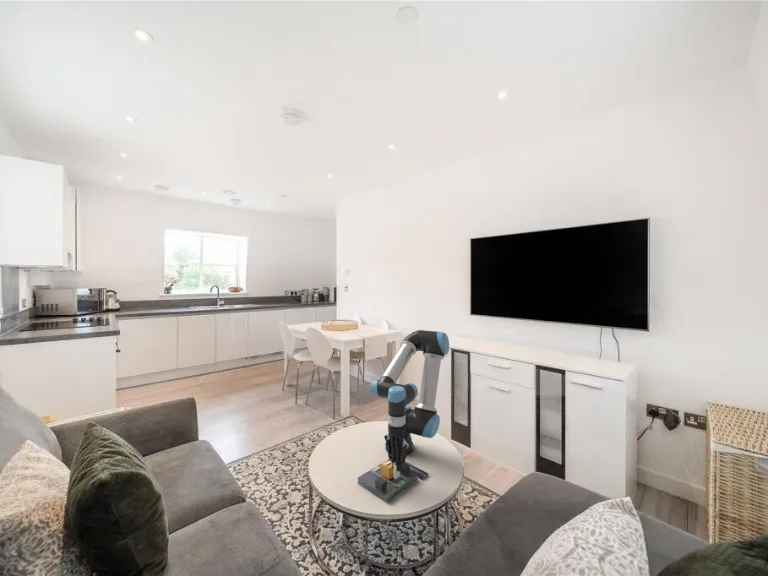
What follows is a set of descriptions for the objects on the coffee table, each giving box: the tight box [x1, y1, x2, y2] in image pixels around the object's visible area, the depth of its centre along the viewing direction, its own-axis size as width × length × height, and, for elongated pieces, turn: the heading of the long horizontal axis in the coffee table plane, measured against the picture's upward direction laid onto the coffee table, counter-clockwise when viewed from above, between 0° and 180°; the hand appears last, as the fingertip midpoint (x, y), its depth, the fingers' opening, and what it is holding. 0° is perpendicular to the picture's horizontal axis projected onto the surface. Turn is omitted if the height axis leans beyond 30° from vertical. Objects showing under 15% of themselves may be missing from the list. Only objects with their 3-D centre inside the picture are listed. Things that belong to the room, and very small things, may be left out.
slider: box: [380, 459, 393, 479], centre depth 141 cm, size 4×5×6 cm
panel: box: [357, 458, 419, 504], centre depth 141 cm, size 20×18×6 cm
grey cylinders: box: [388, 458, 429, 480], centre depth 151 cm, size 5×21×1 cm, turn 46°
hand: (396, 477), depth 138 cm, fingers closed
